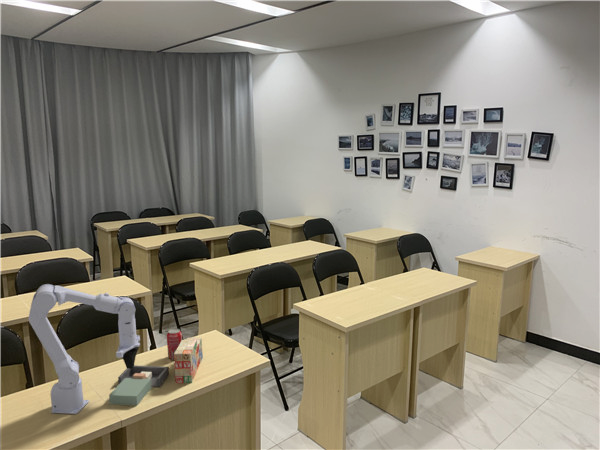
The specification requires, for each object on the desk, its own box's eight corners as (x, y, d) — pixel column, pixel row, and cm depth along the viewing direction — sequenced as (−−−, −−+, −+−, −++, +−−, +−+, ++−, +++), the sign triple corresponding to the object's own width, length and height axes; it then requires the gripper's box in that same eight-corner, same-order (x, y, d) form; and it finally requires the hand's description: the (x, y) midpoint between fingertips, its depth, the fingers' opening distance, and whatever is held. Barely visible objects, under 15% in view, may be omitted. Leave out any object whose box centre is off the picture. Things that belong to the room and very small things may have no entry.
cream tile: (141, 371, 178) (142, 376, 179) (137, 376, 174) (137, 381, 175) (151, 371, 178) (152, 376, 178) (147, 377, 174) (147, 381, 174)
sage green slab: (109, 404, 160) (109, 395, 160) (125, 386, 172) (125, 377, 171) (137, 405, 159) (136, 396, 159) (151, 387, 171) (150, 378, 170)
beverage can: (176, 352, 200) (175, 326, 198) (186, 356, 196) (184, 330, 194) (165, 358, 195) (163, 331, 193) (174, 362, 191) (172, 335, 189)
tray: (118, 385, 173) (118, 377, 172) (130, 373, 182) (129, 365, 181) (159, 387, 171) (159, 378, 171) (169, 374, 180) (168, 366, 180)
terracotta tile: (132, 375, 171) (135, 373, 173) (133, 385, 172) (136, 382, 174) (143, 376, 171) (145, 373, 173) (143, 386, 171) (146, 383, 173)
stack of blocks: (188, 357, 195) (186, 330, 193) (202, 357, 195) (201, 330, 193) (175, 383, 174) (173, 353, 172) (191, 383, 174) (190, 353, 172)
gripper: (129, 340, 155) (131, 377, 157) (146, 324, 169) (149, 358, 172) (109, 340, 156) (112, 377, 158) (128, 323, 170) (131, 358, 172)
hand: (130, 367), depth 165 cm, fingers closed
